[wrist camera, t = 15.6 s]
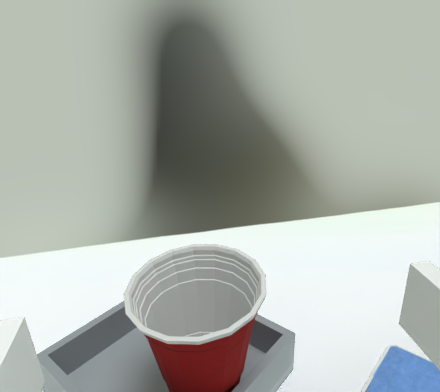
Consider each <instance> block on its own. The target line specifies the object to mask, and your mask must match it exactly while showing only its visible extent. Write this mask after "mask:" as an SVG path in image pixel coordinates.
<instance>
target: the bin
mask: <svg viewBox="0 0 440 392" xmlns="http://www.w3.org/2000/svg"><path fill="white" fill-rule="evenodd" d="M294 343H295V333H293V332H291V331H289V330H288V329H286V328H284V327H282V326H280V325H278V324H276V323H274V322H272V321H270V320H268V319H266V318H264V317H262V316H260V315H258V314H256V316H255V322H254V325H253V326H252V331H251V336H250V341H249V346H248V350H247V355H246V360H245V365H244V370H243V372H242V374H241V378H240V383H239V384H238V385H237V386H236V387H235V388H234V389H233V391H232V392H276V390H277V389H278V388H279V387H280V385H281V384H282V383H283V381H284V380H285V379H286V378H287V376H288V375H289V374H290V372H291V371H292V370H293V359H294ZM37 357H38V360H39V363H40V366H41V370H42V373H43V376H44V379H45V382H44V385H43V388H44V391H45V392H169V389H168V387H167V384H166V382H165V381H164V379H163V377H162V374H161V372H160V369H159V367H158V364H157V362H156V359H155V357H154V354H153V352H152V349H151V347H150V344H149V342H148V339H147V338H146V337H145V335H144V334H142V333H141V331H140V330H139V329H138V328H137V327H136V325H135V324H134V323H133V322H132V321H131V320H130V318H129V317H128V316H127V315H126V312H125V302H124V301H123V302H121V303H120V304H118V305H117V306H115V307H113V308H112V309H110V310H108V311H107V312H105V313H104V314H102V315H100V316H99V317H97V318H95V319H94V320H92V321H91V322H89V323H87V324H86V325H84V326H83V327H81V328H79V329H78V330H76V331H74V332H73V333H71V334H70V335H68V336H66V337H65V338H63V339H61V340H60V341H58V342H57V343H55V344H53V345H52V346H50V347H48V348H47V349H45V350H44V351H42V352H40V353H39V354H37Z"/></svg>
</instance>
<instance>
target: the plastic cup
mask: <svg viewBox="0 0 440 392" xmlns="http://www.w3.org/2000/svg"><path fill="white" fill-rule="evenodd" d="M265 296H266V275H265V274H264V272H263V271H262V269H261V268H260V266H259V265H258V263H257V262H256V260H255V259H253V258H251V257H250V256H248V255H246V254H245V253H243V252H242V251H240V250H238V249H234V248H230V247H226V246H222V245H217V244H200V245H189V246H185V247H181V248H177V249H173V250H169V251H167V252H165V253H163V254H161V255H159V256H157V257H155V258H153V259H151V260H149V261H148V262H147V263H146V264H145V265H144V266H142V267H141V268H140V269H139V270H138V271H137V272H136V273H135V274H134V275H133V276H132V278H131V280H130V282H129V284H128V286H127V288H126V290H125V292H124V302H125V312H126V315H127V316H128V317H129V318H130V320H131V321H132V322H133V323H134V324H135V325H136V327H137V328H138V329H139V330H140V331H141V333H142V334H144V335H145V337H146V338H147V339H148V342H149V344H150V347H151V349H152V352H153V354H154V357H155V359H156V362H157V364H158V367H159V369H160V372H161V374H162V377H163V379H164V381H165V382H166V384H167V387H168V389H169V392H232V391H233V389H234V388H235V387H236V386H237V385H238V384H239V383H240V378H241V374H242V372H243V370H244V365H245V360H246V355H247V350H248V346H249V341H250V336H251V331H252V326H253V325H254V322H255V316H256V314H257V312H258V310H259V308H260V306H261V304H262V303H263V301H264V299H265Z"/></svg>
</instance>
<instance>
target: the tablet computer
mask: <svg viewBox="0 0 440 392" xmlns="http://www.w3.org/2000/svg"><path fill="white" fill-rule="evenodd" d="M361 392H440V370H439V369H438V368H437V367H436V366H435V365H434V363H433V362H432V361H429V360H427V359H425V358H423V357H421V356H418V355H416V354H414V353H412V352H410V351H407V350H405V349H403V348H401V347H399V346H396V345H389V346H387V347H386V349H385V351H384V352H383V354H382V356H381V357H380V359H379V361H378V363H377V364H376V366H375V368H374V370H373V371H372V373H371V375H370V376H369V378H368V380H367V382H366V383H365V385H364V387H363V389H362V390H361Z"/></svg>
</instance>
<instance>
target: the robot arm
mask: <svg viewBox="0 0 440 392" xmlns="http://www.w3.org/2000/svg"><path fill="white" fill-rule="evenodd" d="M399 324H400V325H401V327H402V328H403V329H404V330H405V331H406V332H407V333H408V335H409V336H410V337H411V338H412V339H413V340H414V342H415V343H416V344H417V345H418V346H419V347H420V348H421V350H422V351H423V352H424V353H425V354H426V355H427V357H428V358H429V359H430V360H431V361H432V362H433V363H434V365H435V366H436V367H437V368H438V369H439V370H440V269H439V268H438V267H437V266H436V265H434V264H433V263H432V262H431V261H425V262H418V263H411V264H410V268H409V273H408V278H407V284H406V289H405V294H404V299H403V305H402V310H401V315H400V321H399ZM44 382H45V379H44V376H43V373H42V370H41V366H40V363H39V360H38V357H37V354H36V351H35V348H34V345H33V342H32V339H31V336H30V333H29V330H28V327H27V323H26V320H25V317H21V318H14V319H6V320H0V392H41V391H42V388H43V385H44Z"/></svg>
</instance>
